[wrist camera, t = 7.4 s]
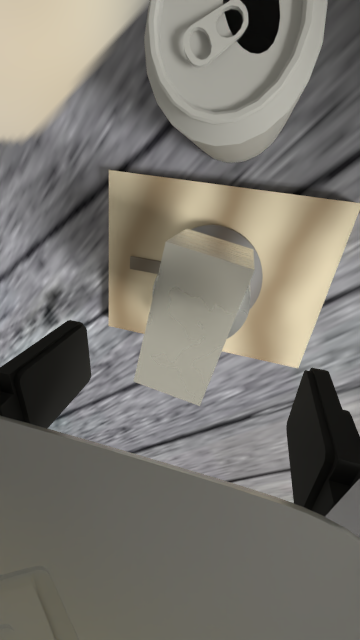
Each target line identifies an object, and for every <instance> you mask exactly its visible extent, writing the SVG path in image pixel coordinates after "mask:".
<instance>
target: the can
mask: <svg viewBox="0 0 360 640" xmlns="http://www.w3.org/2000/svg"><path fill="white" fill-rule="evenodd" d="M327 4H328V2H327V0H150V2H149V8H148V15H147V22H146V30H145V37H144V45H145V56H146V68H147V75H148V78H149V81H150V84H151V87H152V90H153V93H154V96H155V99H156V102H157V104H158V105H159V107H160V108H161V110H162V111H163V112H164V114H165V115H166V117H167V118H168V120H169V121H170V123H171V124H172V125H173V126H174V127H175V128H176V129H177V130H179V131H180V132H181V133H182V134H183V135H185V136H186V137H187V138H188V139H189V140H191V141H192V142H193V143H194V144H195V145H197V146H198V147H199V148H200V149H201V150H203V151H204V152H205V153H207V154H208V155H209V156H211V157H212V158H213V159H216V160H219V161H223V162H227V163H235V162H244V161H247V160H249V159H251V158H253V157H255V156H258V155H260V154H261V153H262V152H263V151H264V150H265V149H266V148H268V147H269V146H270V145H271V144H272V143H273V142H274V141H275V139H276V138H277V136H278V135H279V133H280V132H281V130H282V129H283V127H284V126H285V124H286V122H287V120H288V118H289V116H290V115H291V113H292V111H293V109H294V107H295V105H296V104H297V102H298V100H299V98H300V96H301V94H302V93H303V91H304V89H305V87H306V85H307V83H308V82H309V79H310V77H311V74H312V71H313V68H314V66H315V63H316V60H317V58H318V55H319V52H320V49H321V47H322V44H323V37H324V29H325V20H326V12H327Z"/></svg>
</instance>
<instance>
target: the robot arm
mask: <svg viewBox="0 0 360 640" xmlns="http://www.w3.org/2000/svg"><path fill="white" fill-rule="evenodd" d="M90 378H91V368H90V358H89V349H88V339H87V330H86V327H85V326H84V325H83V323H81V322H76V321H71V320H69V321H67V322H65V323H64V324H62V325H61V326H60V327H58V328H57V329H55V330H54V331H52V332H51V333H49V334H48V335H47V336H45V337H44V338H42V339H41V340H39V341H38V342H36V343H35V344H34V345H32V346H31V347H29V348H28V349H26V350H25V351H23V352H22V353H21V354H19V355H18V356H16V357H15V358H13V359H12V360H10V361H9V362H8V363H6V364H5V365H3V366H2V367H0V640H360V437H359V434H358V431H357V429H356V426H355V424H354V421H353V419H352V416H351V414H350V412H348V411H346V410H342V407H341V404H340V402H339V399H338V396H337V393H336V391H335V388H334V385H333V382H332V380H331V377H330V374H329V372H328V371H326V370H321V369H315V368H311V369H310V371H306V370H305V371H304V374H303V376H302V379H301V382H300V385H299V388H298V391H297V394H296V397H295V400H294V403H293V406H292V409H291V412H290V415H289V418H288V421H287V439H288V449H289V459H290V469H291V478H292V488H293V498H294V503H291V502H288V501H285V500H283V499H280V498H277V497H274V496H271V495H268V494H265V493H262V492H258V491H255V490H252V489H249V488H246V487H243V486H240V485H236V484H233V483H230V482H227V481H224V480H220V479H217V478H214V477H210V476H207V475H204V474H200V473H197V472H193V471H190V470H187V469H183V468H180V467H177V466H173V465H170V464H167V463H163V462H160V461H157V460H153V459H150V458H146V457H143V456H140V455H136V454H133V453H129V452H126V451H123V450H119V449H116V448H112V447H109V446H106V445H102V444H99V443H95V442H92V441H88V440H85V439H82V438H78V437H75V436H71V435H68V434H64V433H61V432H57V431H54V430H50V429H47V428H48V427H49V426H50V425H51V424H52V423H53V422H54V420H55V419H56V418H57V417H58V416H59V415H60V414H61V412H62V411H63V410H64V409H65V408H66V407H67V406H68V405H69V403H70V402H71V401H72V400H73V399H74V398H75V397H76V396H77V394H78V393H79V392H80V391H81V390H82V389H83V388H84V387H85V385H86V384H87V383H88V382H89V380H90Z"/></svg>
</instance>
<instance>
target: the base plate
mask: <svg viewBox="0 0 360 640" xmlns="http://www.w3.org/2000/svg"><path fill="white" fill-rule="evenodd" d="M359 210H360V203H354V202H347V201H339V200H331V199H324V198H316V197H309V196H301V195H294V194H286V193H279V192H271V191H264V190H256V189H249V188H241V187H234V186H226V185H218V184H211V183H203V182H196V181H188V180H181V179H173V178H166V177H158V176H151V175H143V174H136V173H128V172H120V171H113V170H109V326H112V327H116V328H121V329H125V330H130V331H134V332H139V333H143V334H145V330H146V325H147V321H148V316H149V312H150V308H151V303H152V299H153V298H152V292H153V286H154V282H155V279H156V277H157V275H158V273H159V268H160V264H161V260H162V255H163V251H164V247H165V242H166V241H167V240H169V239H171V238H172V237H174V236H175V235H177V234H179V233H180V232H182V231H184V230H185V229H190V230H193V231H196V232H200V233H203V234H206V235H209V236H212V237H216V238H219V239H222V240H225V241H228V242H231V243H235V244H238V245H241V246H244V247H247V248H251V249H253V253H254V269H255V270H254V273H253V275H252V278H251V280H250V309H249V313H248V316H247V319H246V320H245V322H244V324H243V325H242V327H241V328H240V329H239V330H238V331H237V332H236V333H235V334H234V335H233V336H231V337H229V338H228V339H226V342H225V344H224V347H223V349H222V351H223V352H228V353H232V354H237V355H241V356H246V357H250V358H255V359H259V360H264V361H268V362H273V363H277V364H281V365H286V366H290V367H295V368H298V367H299V365H300V362H301V359H302V357H303V354H304V352H305V349H306V347H307V344H308V341H309V339H310V336H311V334H312V331H313V329H314V326H315V323H316V321H317V318H318V316H319V313H320V311H321V308H322V305H323V303H324V300H325V298H326V295H327V293H328V290H329V287H330V285H331V282H332V280H333V277H334V275H335V272H336V269H337V267H338V264H339V262H340V259H341V256H342V254H343V251H344V249H345V246H346V244H347V241H348V238H349V236H350V233H351V231H352V228H353V226H354V223H355V220H356V218H357V215H358V213H359Z"/></svg>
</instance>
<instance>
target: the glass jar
mask: <svg viewBox="0 0 360 640" xmlns="http://www.w3.org/2000/svg"><path fill="white" fill-rule="evenodd" d="M254 270H255V269H254V253H253V249H251V248H247V247H244V246H241V245H238V244H235V243H231V242H228V241H225V240H222V239H219V238H216V237H212V236H209V235H206V234H203V233H200V232H196V231H193V230H190V229H185V230H184V231H182V232H180V233H179V234H177V235H175V236H174V237H172V238H171V239H169V240H167V241H166V242H165V247H164V251H163V255H162V260H161V264H160V268H159V273H158V275H157V277H156V279H155V282H154V286H153V292H152V298H153V299H152V303H151V308H150V312H149V316H148V321H147V325H146V330H145V334H144V338H143V343H142V347H141V351H140V356H139V360H138V364H137V369H136V373H135V377H134V382H136V383H139V384H142V385H144V386H147V387H150V388H153V389H155V390H158V391H161V392H163V393H166V394H169V395H171V396H174V397H177V398H180V399H182V400H185V401H188V402H190V403H193V404H196V405H198V406H200V404H201V401H202V399H203V396H204V394H205V391H206V389H207V386H208V384H209V382H210V379H211V377H212V374H213V372H214V369H215V367H216V364H217V362H218V359H219V357H220V354H221V352H222V349H223V347H224V344H225V342H226V339H228V338H229V337H231V336H233V335H234V334H235V333H236V332H237V331H238V330H239V329H240V328H241V327H242V325H243V324H244V322H245V320H246V319H247V316H248V313H249V309H250V280H251V278H252V275H253V273H254Z"/></svg>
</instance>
